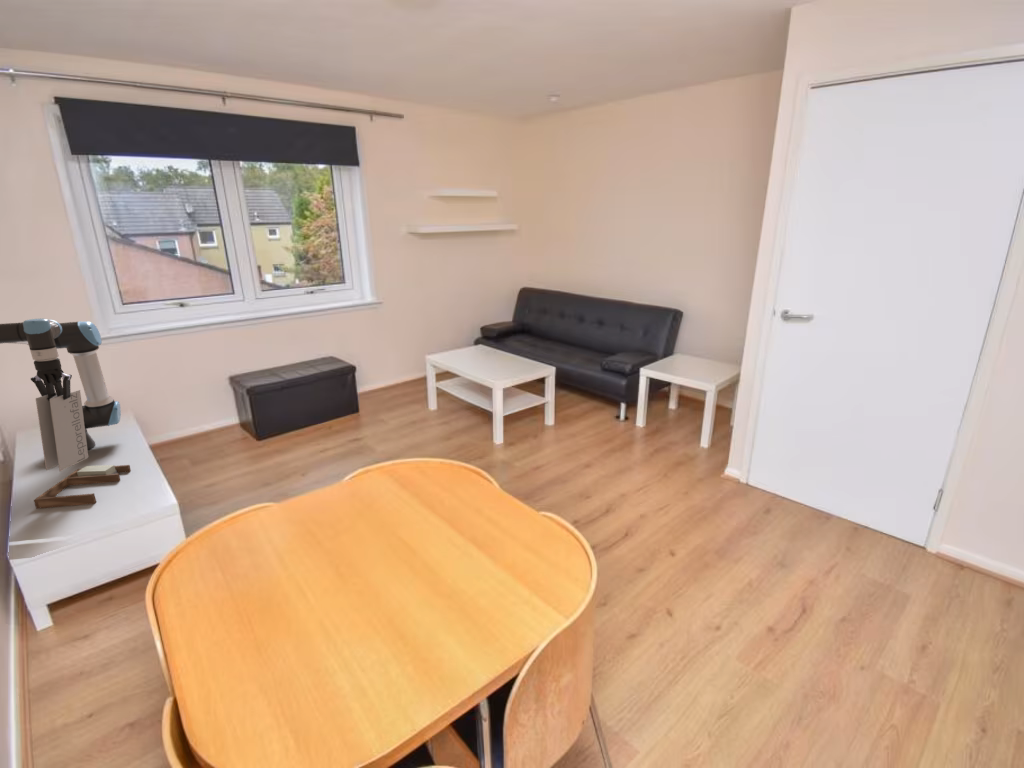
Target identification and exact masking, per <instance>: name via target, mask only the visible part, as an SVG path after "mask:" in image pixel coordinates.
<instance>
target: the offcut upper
mask: <svg viewBox="0 0 1024 768" xmlns="http://www.w3.org/2000/svg"><path fill="white" fill-rule="evenodd" d="M115 466H116V465H114V464H109V465H108V464H107V465H86V466H84V467H82V468H80V469H81V470H79V471H77V474H78V477H80V476H93V475H105V474H112V473H114V472H115V471H116V470H115Z"/></svg>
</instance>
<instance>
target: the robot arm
mask: <svg viewBox="0 0 1024 768" xmlns="http://www.w3.org/2000/svg"><path fill="white" fill-rule="evenodd" d="M102 341H103V340H102V336H101V334H100V331H99V329H98V328H97V326H96V325H95V324H94V323H93V322H92V321H69V322H58V321H57V320H54V319H47V318H32V319H26V320H23V321H22V322H10V323H7V322H6V323H0V344H18V345H19V344H20V345H27V346H28V347H29V350H30V354H31V357H32V360H33V365H34V368H35V370H36V375H35V376H33V377H30V381H31V382H33V383H34V385H35V387H36V388H37V389H36V390H38V392H39V394H40V397H41V396H45V395H48V398H47V399H48V401H50V399H51V398H53V397H54V396H56V394H57V397H59V396H62V395H63V399H64V400H65V399H68V398H70V397H71V379H72V378H73V377H72V374H67V373H65V372H64V371H63V370H62V363H61V359H60V358H59V352H58V350H60V349H66V350H67V353H68V354H69V355H72V356H73V358H74V359H73V360H74V363H75V365H76V366H75V367H76V368H77V372H78V377H79V378H80V381H81V385H82V388H83V391H84V394H85V397H86V400H85V401H84V403H83V405H82V409H83V417H84V426H85V434H86V442H87V450H88V451H91V450H92V449H93V448H94V449H95V447H96V441H95V439H93V438H92V436H91V435H90V433H89V432H88V429H95V428H102V427H110V426H113V425H114V426H115V425H118V424H119V422H120V421H121V417H122V416H121V415H122V414H121V413H122V412H121V411H122V410H121V403H120V401H117V400H115V399H114V397H113V396H110V395H109V392H108V388H107V385H106V382H105V378H104V374H103V370H102V368H101V365H100V361H99V357H98V353H97V351H98V350H99V349H100V345H102ZM55 392H56V393H55Z"/></svg>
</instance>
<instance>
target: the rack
mask: <svg viewBox="0 0 1024 768" xmlns="http://www.w3.org/2000/svg"><path fill="white" fill-rule="evenodd" d="M114 466H115V470H117V474H105V475H93V476H80V477H78V474H77V471H79V470H81V469H82V468H78V469H75V470H74V471H73V472H72V473H70V474H69V475H68V476H65V478H63V479H61V480H60V481H59V482H57V483H56V484H55V485H53V486H52V487H50V488H49V489H47V490H45V491H44V492H43V493H41V494H40V495H38V497H36V498H34V499H33V503H34V506H35V509H36V510H40V509H50V508H51V509H52V508H60V507H71V506H72V507H74V506H83V505H84V506H85V505H93V504H94V505H95V504H96V503H97V499H96V496H95V493H85V494H83V493H82V494H81V493H80V494H72V495H61V496H58V495H59V494H60V493H61V492H62V491H64V490H65V489H66V488H67V487H68V486H79V485H80V484H82V485H92V484H93V483H94V484H104V483H117V482H121V477H120V476H121V475H120V473H130V472H131V471H132V470H131V465H130V464H123V465H114ZM57 494H58V495H57Z"/></svg>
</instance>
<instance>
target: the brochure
mask: <svg viewBox="0 0 1024 768" xmlns="http://www.w3.org/2000/svg"><path fill="white" fill-rule="evenodd" d="M70 392H71V391H70ZM55 393H56V391H55ZM47 398H48V395H45V396H41V395H40V396H38V397H36V398H35V402H36V404H35V405H36V410H37V412H36V413H37V417H38V425H39V431H40V438H41V445H42V451H43V458H44V464H45V470H46V471H48V470H49V471H50V470H51V469H53V468H55V467H58V468H59V469H58V470H59V472H62V471H64V470H66V469H68V468H70V467H73V466H74V465H77V464H78V463H81V462H83V461H85V460H87V459H88V458H89V450H87V442H86V434H85V426H84V417H83V409H82V406H83V402H82V394H81V389H78V390H74V391H72V392H71V397H70V398H68V399H65V400H64V399H63V395H62V396H59V397H57V394H56V396H54V397H53V398H51V399H50V401H48V399H47Z"/></svg>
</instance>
